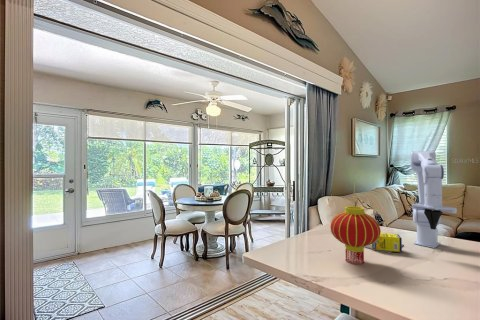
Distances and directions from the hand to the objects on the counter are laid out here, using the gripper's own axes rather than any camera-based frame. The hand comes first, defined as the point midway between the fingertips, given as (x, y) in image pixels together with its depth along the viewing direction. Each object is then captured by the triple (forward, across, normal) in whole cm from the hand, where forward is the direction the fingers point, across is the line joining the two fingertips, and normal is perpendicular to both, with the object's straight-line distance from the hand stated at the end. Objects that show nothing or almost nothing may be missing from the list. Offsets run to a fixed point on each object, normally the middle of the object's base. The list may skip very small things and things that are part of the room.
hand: (433, 228), depth 106 cm
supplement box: (+7, -10, -5) cm, 13 cm away
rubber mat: (+10, -20, -4) cm, 23 cm away
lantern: (+11, -17, -31) cm, 37 cm away
